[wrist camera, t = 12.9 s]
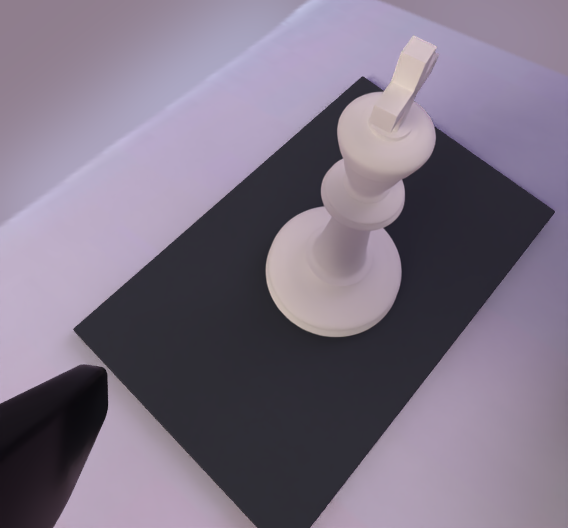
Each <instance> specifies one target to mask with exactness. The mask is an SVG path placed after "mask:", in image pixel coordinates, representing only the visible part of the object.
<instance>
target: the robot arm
mask: <svg viewBox="0 0 568 528" xmlns="http://www.w3.org/2000/svg"><path fill="white" fill-rule="evenodd" d="M107 410H108V381H107V372H106V370H105V369H104V368H103V367H99V366H92V365H85V364H83V365H79V366H77V367H75V368H73V369H71V370H69V371H67V372H65V373H63V374H60V375H58V376H56V377H54V378H52V379H50V380H48V381H46V382H44V383H42V384H40V385H38V386H36V387H34V388H32V389H30V390H28V391H26V392H24V393H21V394H19V395H17V396H15V397H13V398H11V399H9V400H7V401H5V402H3V403H1V404H0V528H53V527H54V525H55V524H56V522H57V520H58V518H59V517H60V515H61V513H62V511H63V509H64V507H65V506H66V504H67V502H68V500H69V498H70V496H71V494H72V491H73V489H74V487H75V485H76V483H77V480H78V478H79V476H80V474H81V471H82V469H83V467H84V465H85V462H86V460H87V458H88V456H89V454H90V451H91V449H92V447H93V445H94V442H95V440H96V438H97V436H98V433H99V431H100V429H101V427H102V424H103V422H104V420H105V417H106V414H107Z"/></svg>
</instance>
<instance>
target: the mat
mask: <svg viewBox="0 0 568 528" xmlns="http://www.w3.org/2000/svg"><path fill="white" fill-rule="evenodd" d="M374 92H384V91H383V90H382V89H380V88H379V87H377V86H376V85H375V84H373V83H372V82H370V81H369V80H367V79H366V78H365V77H361V78H360V79H359V80H358V81H357V82H355V83H354V84H353V85H352V86H351V87H350V88H349V89H347V90H346V91H345V92H344V93H343V94H342V95H341V96H339V97H338V98H337V99H336V100H335V101H334V102H333V103H331V104H330V105H329V106H328V107H327V108H326V109H325V110H323V111H322V112H321V113H320V114H319V115H318V116H317V117H315V118H314V119H313V120H312V121H311V122H310V123H309V124H307V125H306V126H305V127H304V128H303V129H302V130H300V131H299V132H298V133H297V134H296V135H295V136H294V137H292V138H291V139H290V140H289V141H288V142H287V143H286V144H284V145H283V146H282V147H281V148H280V149H279V150H278V151H276V152H275V153H274V154H273V155H272V156H271V157H270V158H268V159H267V160H266V161H265V162H264V163H263V164H262V165H260V166H259V167H258V168H257V169H256V170H255V171H254V172H252V173H251V174H250V175H249V176H248V177H247V178H246V179H244V180H243V181H242V182H241V183H240V184H239V185H238V186H236V187H235V188H234V189H233V190H232V191H231V192H230V193H228V194H227V195H226V196H225V197H224V198H223V199H222V200H220V201H219V202H218V203H217V204H216V205H215V206H214V207H212V208H211V209H210V210H209V211H208V212H207V213H205V214H204V215H203V216H202V217H201V218H200V219H199V220H197V221H196V222H195V223H194V224H193V225H192V226H191V227H189V228H188V229H187V230H186V231H185V232H184V233H183V234H181V235H180V236H179V237H178V238H177V239H176V240H175V241H173V242H172V243H171V244H170V245H169V246H168V247H167V248H165V249H164V250H163V251H162V252H161V253H160V254H159V255H157V256H156V257H155V258H154V259H153V260H152V261H151V262H149V263H148V264H147V265H146V266H145V267H144V268H143V269H141V270H140V271H139V272H138V273H137V274H136V275H135V276H133V277H132V278H131V279H130V280H129V281H128V282H127V283H125V284H124V285H123V286H122V287H121V288H120V289H118V290H117V291H116V292H115V293H114V294H113V295H112V296H110V297H109V298H108V299H107V300H106V301H105V302H104V303H102V304H101V305H100V306H99V307H98V308H97V309H96V310H94V311H93V312H92V313H91V314H90V315H89V316H88V317H86V318H85V319H84V320H83V321H82V322H81V323H80V324H78V325H77V326H76V327H75V328H74V329H73V330H74V331H75V333H76V334H77V335H78V336H79V337H80V338H81V339H82V340H83V341H84V342H85V343H86V344H87V345H88V346H89V348H90V349H91V350H92V351H93V352H94V353H95V354H96V355H97V356H98V357H99V358H100V359H101V360H102V362H103V363H104V364H105V365H106V366H107V367H108V368H109V369H110V370H111V371H112V372H113V373H114V374H115V375H116V377H117V378H118V379H119V380H120V381H121V382H122V383H123V384H124V385H125V386H126V387H127V388H128V389H129V390H130V392H131V393H132V394H133V395H134V396H135V397H136V398H137V399H138V400H139V401H140V402H141V403H142V404H143V405H144V407H145V408H146V409H147V410H148V411H149V412H150V413H151V414H152V415H153V416H154V417H155V418H156V419H157V421H158V422H159V423H160V424H161V425H162V426H163V427H164V428H165V429H166V430H167V431H168V432H169V433H170V434H171V436H172V437H173V438H174V439H175V440H176V441H177V442H178V443H179V444H180V445H181V446H182V447H183V448H184V449H185V451H186V452H187V453H188V454H189V455H190V456H191V457H192V458H193V459H194V460H195V461H196V462H197V463H198V465H199V466H200V467H201V468H202V469H203V470H204V471H205V472H206V473H207V474H208V475H209V476H210V477H211V478H212V480H213V481H214V482H215V483H216V484H217V485H218V486H219V487H220V488H221V489H222V490H223V491H224V492H225V493H226V495H227V496H228V497H229V498H230V499H231V500H232V501H233V502H234V503H235V504H236V505H237V506H238V507H239V509H240V510H241V511H242V512H243V513H244V514H245V515H246V516H247V517H248V518H249V519H250V520H251V521H252V522H253V524H254V525H255V526H256V527H257V528H310V527H311V526H312V524H313V523H314V522H315V521H316V519H317V518H318V517H319V515H320V514H321V513H322V512H323V510H324V509H325V508H326V506H327V505H328V504H329V503H330V501H331V500H332V499H333V497H334V496H335V495H336V494H337V492H338V491H339V490H340V488H341V487H342V486H343V485H344V483H345V482H346V481H347V479H348V478H349V477H350V476H351V474H352V473H353V472H354V470H355V469H356V468H357V467H358V465H359V464H360V463H361V461H362V460H363V459H364V457H365V456H366V455H367V454H368V452H369V451H370V450H371V448H372V447H373V446H374V445H375V443H376V442H377V441H378V439H379V438H380V437H381V436H382V434H383V433H384V432H385V430H386V429H387V428H388V427H389V425H390V424H391V423H392V421H393V420H394V419H395V418H396V416H397V415H398V414H399V412H400V411H401V410H402V409H403V407H404V406H405V405H406V403H407V402H408V401H409V400H410V398H411V397H412V396H413V394H414V393H415V392H416V391H417V389H418V388H419V387H420V385H421V384H422V383H423V382H424V380H425V379H426V378H427V376H428V375H429V374H430V373H431V371H432V370H433V369H434V367H435V366H436V365H437V363H438V362H439V361H440V360H441V358H442V357H443V356H444V354H445V353H446V352H447V351H448V349H449V348H450V347H451V345H452V344H453V343H454V342H455V340H456V339H457V338H458V336H459V335H460V334H461V333H462V331H463V330H464V329H465V327H466V326H467V325H468V324H469V322H470V321H471V320H472V318H473V317H474V316H475V315H476V313H477V312H478V311H479V309H480V308H481V307H482V306H483V304H484V303H485V302H486V300H487V299H488V298H489V297H490V295H491V294H492V293H493V291H494V290H495V289H496V288H497V286H498V285H499V284H500V282H501V281H502V280H503V279H504V277H505V276H506V275H507V273H508V272H509V271H510V269H511V268H512V267H513V266H514V264H515V263H516V262H517V260H518V259H519V258H520V257H521V255H522V254H523V253H524V251H525V250H526V249H527V248H528V246H529V245H530V244H531V242H532V241H533V240H534V239H535V237H536V236H537V235H538V233H539V232H540V231H541V230H542V228H543V227H544V226H545V224H546V223H547V222H548V221H549V219H550V218H551V217H552V215H553V214H554V213H555V211H554V210H553V209H551V208H550V207H548V206H547V205H545V204H544V203H543V202H541V201H540V200H538V199H537V198H535V197H534V196H533V195H531V194H530V193H528V192H527V191H526V190H524V189H523V188H521V187H520V186H518V185H517V184H516V183H514V182H513V181H511V180H510V179H508V178H507V177H506V176H504V175H503V174H501V173H500V172H498V171H497V170H496V169H494V168H493V167H491V166H490V165H488V164H487V163H486V162H484V161H483V160H481V159H480V158H479V157H477V156H476V155H474V154H473V153H471V152H470V151H469V150H467V149H466V148H464V147H463V146H461V145H460V144H459V143H457V142H456V141H454V140H453V139H451V138H450V137H449V136H447V135H446V134H444V133H443V132H442V131H440V130H439V129H437V128H436V127H434V128H435V133H436V141H435V146H434V149H433V152H432V154H431V156H430V157H429V159H428V160H427V161H426V162H425V163H424V164H423V165H422V166H421V167H420V168H419V169H418V170H416V171H415V172H414V173H412V174H411V175H409V176H408V177H406V178H404V179H402V181H403V184H404V189H405V202H404V206H403V209H402V211H401V213H400V215H399V216H398V217H397V219H396V220H395V221H393V222H392V223H391V224H389V225H388V226H386V227H384V228H383V229H384V230H385V231H386V232H387V233H388V234H389V236H390V237H391V239H392V240H393V242H394V244H395V246H396V248H397V251H398V253H399V257H400V261H401V271H402V273H401V283H400V287H399V291H398V293H397V296H396V299H395V301H394V303H393V305H392V307H391V308H390V310H389V311H388V313H387V314H386V315H385V316H384V317H383V318H382V319H381V320H380V321H379V322H378V323H377V324H375V325H374V326H373V327H371V328H369V329H367V330H365V331H363V332H361V333H358V334H355V335H351V336H345V337H328V336H322V335H317V334H314V333H311V332H309V331H306V330H304V329H302V328H300V327H299V326H297V325H296V324H294V323H293V322H291V321H290V320H289V319H288V318H287V317H286V316H285V315H284V314H283V313H282V312H281V311H280V310H279V308H278V307H277V305H276V304H275V302H274V301H273V299H272V297H271V294H270V292H269V289H268V285H267V280H266V261H267V257H268V253H269V250H270V248H271V245H272V243H273V241H274V239H275V237H276V235H277V234H278V232H279V231H280V229H281V228H282V227H283V226H284V225H285V224H286V223H287V222H288V221H289V220H291V219H292V218H293V217H295V216H296V215H298V214H300V213H302V212H304V211H307V210H310V209H313V208H317V207H324V204H323V201H322V197H321V185H322V181H323V179H324V177H325V175H326V173H327V172H328V171H329V169H330V168H331V167H332V166H333V165H334V164H335V163H337V162H338V161H339V160H341V159H343V157H342V154H341V152H340V147H339V143H338V136H337V127H338V122H339V118H340V116H341V114H342V112H343V111H344V109H345V108H346V107H347V106H348V105H349V104H350V103H351V102H352V101H353V100H355V99H356V98H358V97H360V96H363V95H365V94H369V93H374Z"/></svg>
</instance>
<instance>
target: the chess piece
mask: <svg viewBox="0 0 568 528" xmlns="http://www.w3.org/2000/svg"><path fill="white" fill-rule="evenodd" d="M436 48H437V46H435V45H432V44H430V43H428V42H426V41H424V40H422V39H420V38H418V37H415V36H412V38H411V39H410V41H409V42H408V43H407V45H406V46H405V47H404V49H403V50H402V52H401V54H400V57H399V60H398V63H397V66H396V69H395V72H394V75H393V77H392V80H391V82H390V84H389V85H388V86H387V88H386V89H385V91H384V92H374V93H369V94H365V95H363V96H360V97H358V98H356V99H355V100H353V101H352V102H351V103H350V104H349V105H348V106H347V107H346V108H345V109H344V111H343V112H342V114H341V116H340V118H339V122H338V127H337V136H338V143H339V147H340V152H341V154H342V157H343V159H341V160H339V161H338V162H337V163H335V164H334V165H333V166H332V167H331V168H330V169H329V171H328V172H327V173H326V175H325V177H324V179H323V181H322V185H321V197H322V201H323V204H324V207H317V208H313V209H310V210H307V211H304V212H302V213H300V214H298V215H296V216H295V217H293V218H292V219H291V220H289V221H288V222H287V223H286V224H285V225H284V226H283V227H282V228H281V229H280V231H279V232H278V234H277V235H276V237H275V239H274V241H273V243H272V245H271V248H270V250H269V253H268V257H267V261H266V280H267V285H268V289H269V292H270V294H271V297H272V299H273V301H274V302H275V304H276V305H277V307H278V308H279V310H280V311H281V312H282V313H283V314H284V315H285V316H286V317H287V318H288V319H289V320H290V321H291V322H293V323H294V324H296V325H297V326H299V327H300V328H302V329H304V330H306V331H309V332H311V333H314V334H317V335H322V336H328V337H345V336H351V335H355V334H358V333H361V332H363V331H365V330H367V329H369V328H371V327H373V326H374V325H375V324H377V323H378V322H379V321H380V320H381V319H382V318H383V317H384V316H385V315H386V314H387V313H388V311H389V310H390V308H391V307H392V305H393V303H394V301H395V299H396V296H397V293H398V291H399V287H400V283H401V273H402V271H401V261H400V257H399V253H398V251H397V248H396V246H395V244H394V242H393V240H392V239H391V237H390V236H389V234H388V233H387V232H386V231H385V230H384V229H383V228H384V227H386V226H388V225H389V224H391V223H392V222H393V221H395V220H396V219H397V217H398V216H399V215H400V213H401V211H402V209H403V206H404V202H405V189H404V184H403V181H402V179H404V178H406V177H408V176H409V175H411V174H412V173H414V172H415V171H416V170H418V169H419V168H420V167H421V166H422V165H423V164H424V163H425V162H426V161H427V160H428V159H429V157H430V156H431V154H432V152H433V149H434V146H435V141H436V133H435V128H434V125H433V122H432V120H431V118H430V117H429V115H428V114H427V112H426V111H425V110H424V109H423V108H422V107H421V106H420V105H419V104H417V103H416V102H415V101H414V99H415V97H416V94H417V93H418V91H419V90H420V88H421V87H422V85H423V84H424V82H425V81H426V79H427V78H428V76H429V75H430V73H431V72H432V69H433V67H434V65H435V63H436V60H437V58H438V56H439V54H438V53H435V51H436Z"/></svg>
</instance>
